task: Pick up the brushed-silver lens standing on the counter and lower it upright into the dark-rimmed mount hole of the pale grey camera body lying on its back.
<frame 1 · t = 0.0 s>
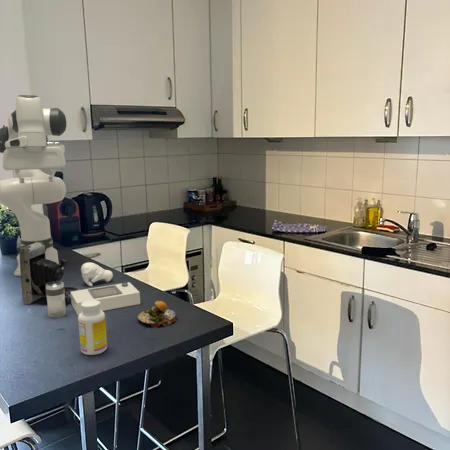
hand: (36, 182, 158), 39 cm above the breakfast bar, fingers open, 8 cm apart
vintage camera: (51, 301, 153), on the breakfast bar
burger: (157, 321, 137), on the breakfast bar
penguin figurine: (97, 283, 171), on the breakfast bar
camera body: (105, 303, 150), on the breakfast bar
lens: (57, 314, 141), on the breakfast bar
supplement bottle: (94, 350, 118), on the breakfast bar
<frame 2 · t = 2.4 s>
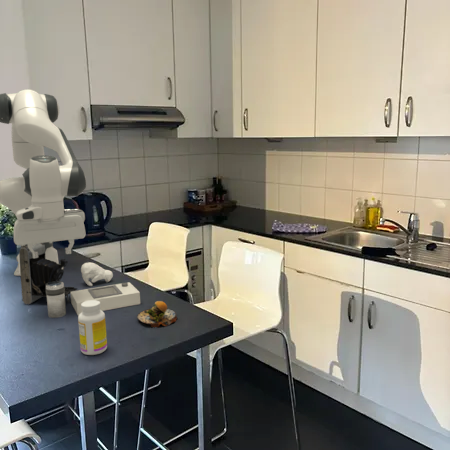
hand: (52, 255, 138), 19 cm above the breakfast bar, fingers open, 8 cm apart
nothing on the breakfast bar moved.
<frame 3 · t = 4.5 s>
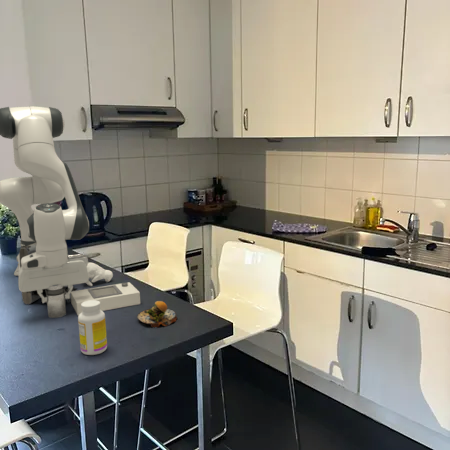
hand: (56, 300, 141), 5 cm above the breakfast bar, fingers closed on lens, 5 cm apart
lens: (57, 314, 141), on the breakfast bar, touching gripper
everything else where it was.
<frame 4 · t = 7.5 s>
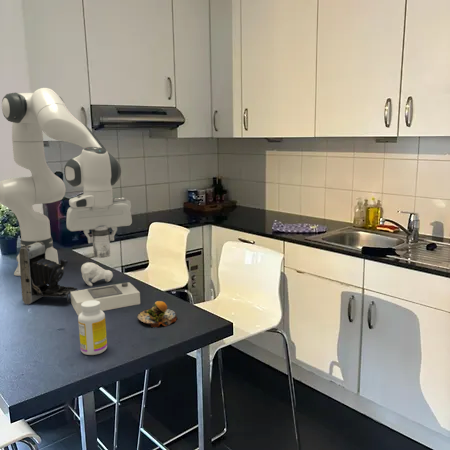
hand: (101, 241, 146), 21 cm above the breakfast bar, fingers closed on lens, 5 cm apart
lens: (102, 255, 147), point 16 cm above the breakfast bar, touching gripper
everything else where it was.
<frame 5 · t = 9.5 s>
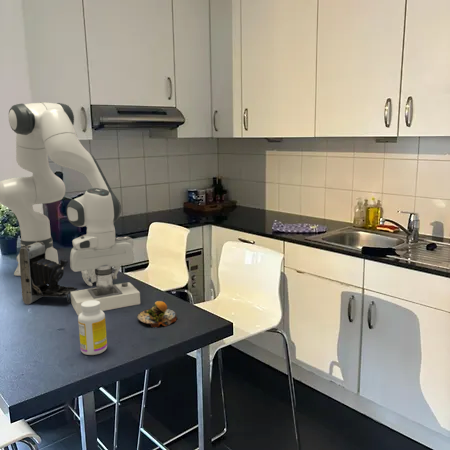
hand: (104, 280, 149), 8 cm above the breakfast bar, fingers closed on lens, 5 cm apart
lens: (105, 293, 149), point 3 cm above the breakfast bar, touching gripper
everything else where it was.
when the fingers open (6 cm above the breakfast bar, at t = 10.8 s): lens stays where it is, resting in camera body.
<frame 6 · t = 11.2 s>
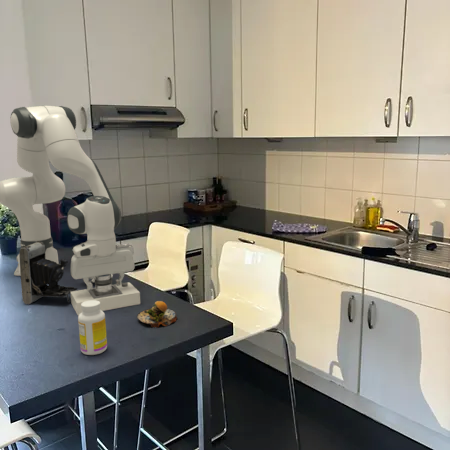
hand: (104, 287, 149), 6 cm above the breakfast bar, fingers open, 8 cm apart
lens: (104, 303, 150), resting in camera body
everything else where it was.
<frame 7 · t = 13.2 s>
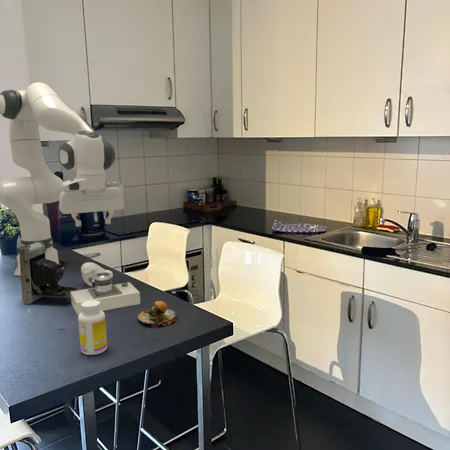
hand: (93, 225, 148), 26 cm above the breakfast bar, fingers open, 8 cm apart
nothing on the breakfast bar moved.
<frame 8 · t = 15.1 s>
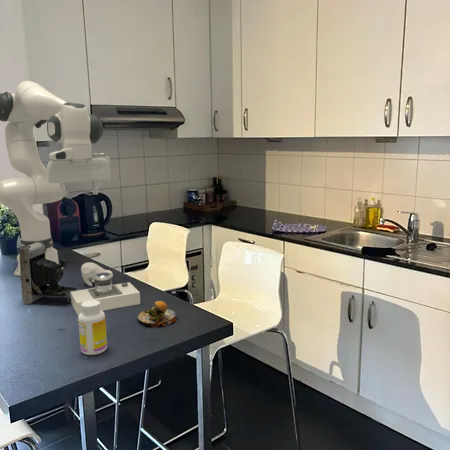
hand: (81, 195, 151), 35 cm above the breakfast bar, fingers open, 8 cm apart
nothing on the breakfast bar moved.
at the end: lens 0.3 cm off-centre on the camera body, point 0.0 cm above the camera body's base; lens tilted 0°; the gripper is holding nothing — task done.
